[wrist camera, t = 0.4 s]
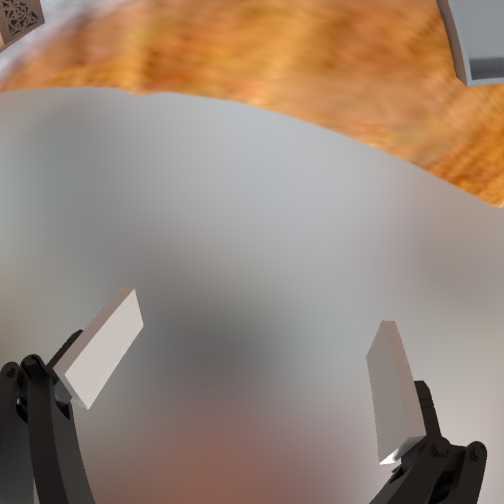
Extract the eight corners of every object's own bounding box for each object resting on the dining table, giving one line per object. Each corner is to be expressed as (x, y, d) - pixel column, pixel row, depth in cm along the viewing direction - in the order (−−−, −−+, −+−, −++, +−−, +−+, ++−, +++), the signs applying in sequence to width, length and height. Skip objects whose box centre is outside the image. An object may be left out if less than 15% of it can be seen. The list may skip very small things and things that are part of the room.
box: (423, -31, 13) (435, -30, 11) (512, -23, 4) (526, -19, 2) (456, 77, 25) (467, 86, 23) (530, 71, 17) (542, 81, 15)
